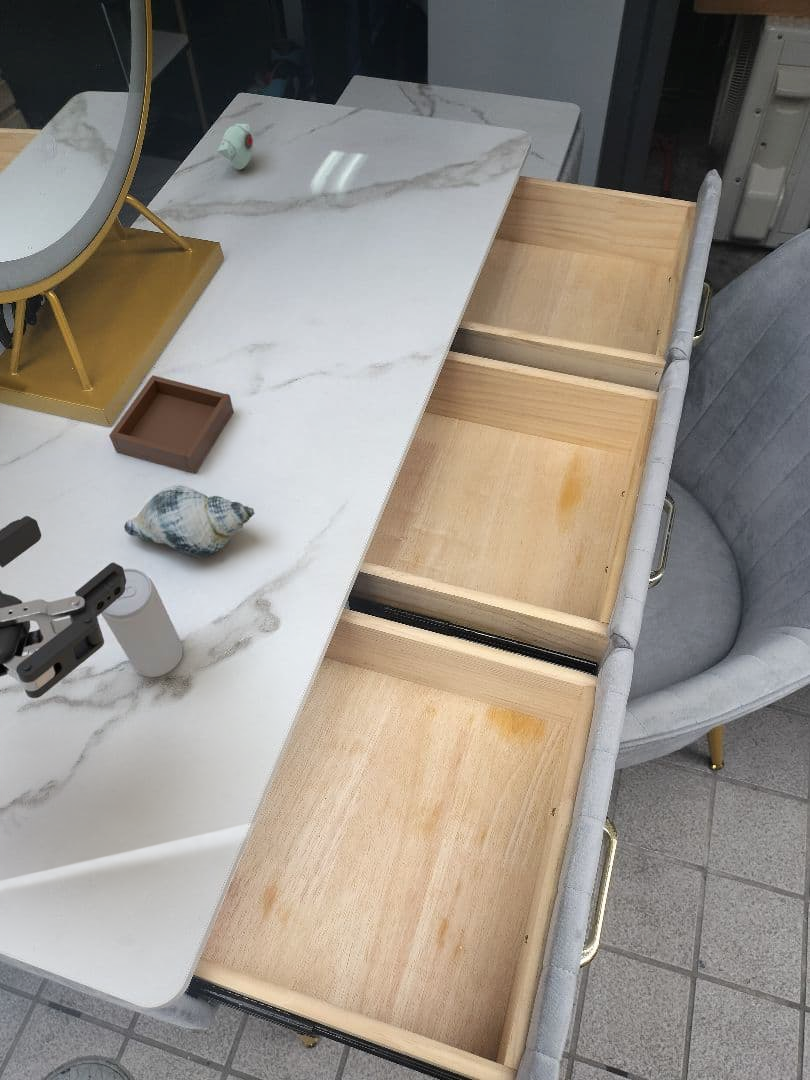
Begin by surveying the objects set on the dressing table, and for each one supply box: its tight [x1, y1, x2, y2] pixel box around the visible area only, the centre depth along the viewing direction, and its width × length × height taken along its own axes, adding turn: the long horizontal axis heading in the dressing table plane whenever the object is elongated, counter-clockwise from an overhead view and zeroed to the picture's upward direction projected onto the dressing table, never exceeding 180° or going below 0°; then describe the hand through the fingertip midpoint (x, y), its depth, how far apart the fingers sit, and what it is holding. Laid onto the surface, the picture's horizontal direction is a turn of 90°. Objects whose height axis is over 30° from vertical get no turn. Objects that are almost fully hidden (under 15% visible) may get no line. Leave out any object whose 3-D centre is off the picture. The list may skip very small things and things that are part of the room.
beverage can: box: [100, 567, 184, 678], centre depth 72 cm, size 5×5×12 cm
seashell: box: [123, 484, 256, 557], centre depth 83 cm, size 6×8×12 cm
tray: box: [108, 375, 234, 474], centre depth 92 cm, size 10×10×3 cm
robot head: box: [216, 122, 254, 171], centre depth 121 cm, size 8×4×7 cm, turn 159°
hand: (77, 548), depth 60 cm, fingers open, 8 cm apart
